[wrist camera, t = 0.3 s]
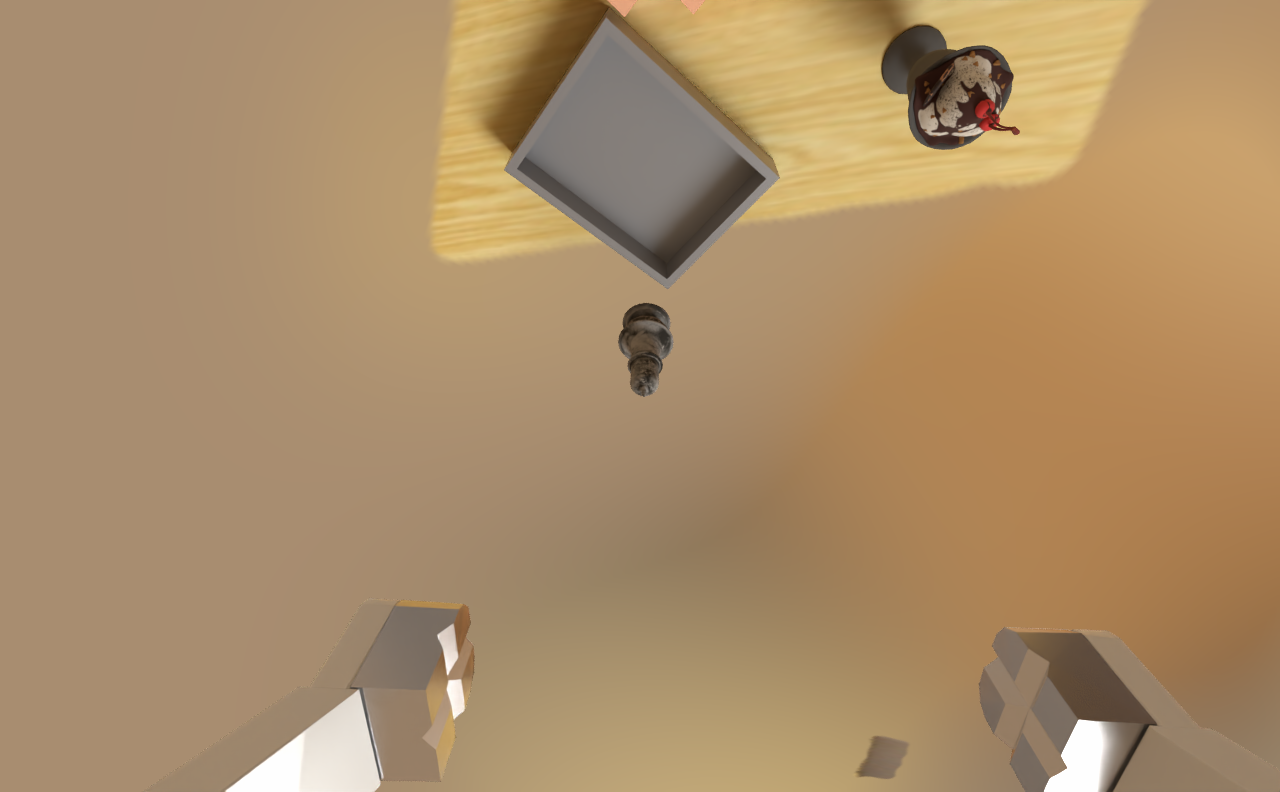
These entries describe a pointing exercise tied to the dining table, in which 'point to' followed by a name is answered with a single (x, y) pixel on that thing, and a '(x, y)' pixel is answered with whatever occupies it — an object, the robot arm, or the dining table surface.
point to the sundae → (948, 87)
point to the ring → (624, 3)
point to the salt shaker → (645, 345)
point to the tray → (640, 155)
